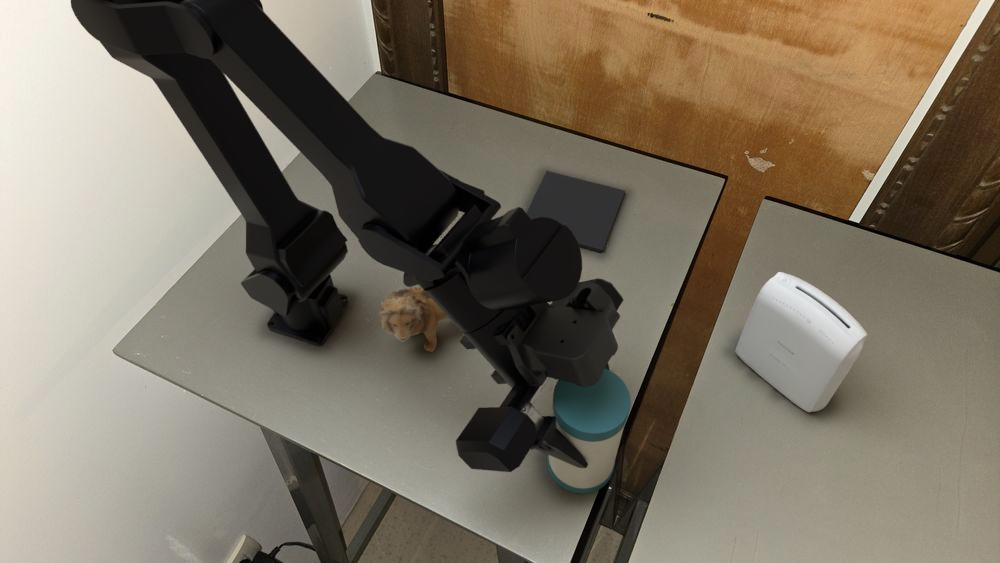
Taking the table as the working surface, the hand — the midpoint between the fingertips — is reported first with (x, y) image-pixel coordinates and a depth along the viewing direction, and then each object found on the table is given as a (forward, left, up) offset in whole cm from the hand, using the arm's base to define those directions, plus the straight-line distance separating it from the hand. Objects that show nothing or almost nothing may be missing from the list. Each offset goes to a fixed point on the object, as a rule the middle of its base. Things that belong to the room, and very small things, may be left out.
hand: (600, 437), depth 64 cm
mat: (-11, +30, -7) cm, 33 cm away
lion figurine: (-18, +9, -7) cm, 22 cm away
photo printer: (+15, +16, -7) cm, 23 cm away
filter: (-1, 0, -7) cm, 7 cm away
